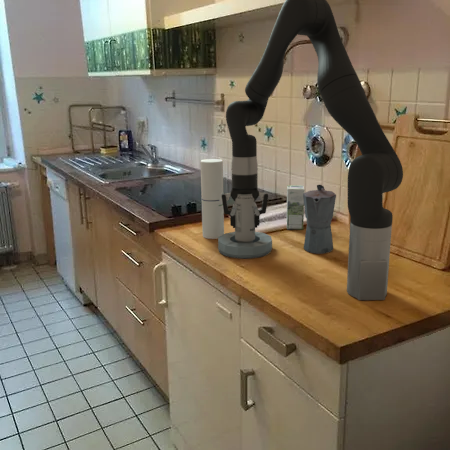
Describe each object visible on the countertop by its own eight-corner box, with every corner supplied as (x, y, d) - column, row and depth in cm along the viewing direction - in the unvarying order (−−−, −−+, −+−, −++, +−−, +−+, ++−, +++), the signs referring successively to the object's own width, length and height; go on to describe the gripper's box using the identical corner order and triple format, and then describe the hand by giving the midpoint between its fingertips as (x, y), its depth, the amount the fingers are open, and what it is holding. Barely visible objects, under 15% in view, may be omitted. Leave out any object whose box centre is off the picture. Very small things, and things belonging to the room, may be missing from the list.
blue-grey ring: (273, 258, 144) (273, 246, 143) (217, 259, 144) (217, 247, 143) (269, 241, 159) (269, 230, 158) (218, 241, 159) (218, 231, 158)
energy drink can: (255, 244, 148) (255, 194, 144) (235, 244, 148) (234, 195, 144) (254, 238, 154) (254, 190, 150) (234, 238, 154) (234, 190, 150)
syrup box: (302, 225, 176) (303, 184, 172) (303, 230, 170) (304, 188, 166) (286, 225, 177) (286, 184, 173) (286, 229, 171) (287, 188, 167)
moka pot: (299, 256, 145) (301, 188, 140) (304, 240, 160) (305, 178, 154) (332, 258, 143) (335, 189, 137) (334, 241, 157) (337, 179, 152)
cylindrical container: (199, 234, 168) (196, 160, 161) (218, 231, 171) (217, 158, 164) (207, 240, 162) (205, 163, 155) (227, 236, 164) (226, 161, 157)
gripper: (219, 174, 141) (220, 231, 146) (270, 173, 141) (270, 230, 146) (219, 169, 149) (221, 224, 153) (268, 169, 148) (268, 223, 153)
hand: (245, 227), depth 150 cm, fingers closed on energy drink can, 6 cm apart
